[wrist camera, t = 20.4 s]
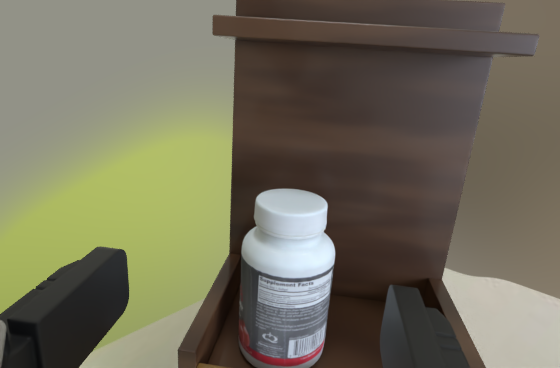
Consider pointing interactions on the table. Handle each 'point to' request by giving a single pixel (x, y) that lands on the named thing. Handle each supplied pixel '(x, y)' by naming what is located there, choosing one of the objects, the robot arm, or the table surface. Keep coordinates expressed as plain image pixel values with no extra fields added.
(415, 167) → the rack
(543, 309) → the table surface
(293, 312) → the pill bottle
